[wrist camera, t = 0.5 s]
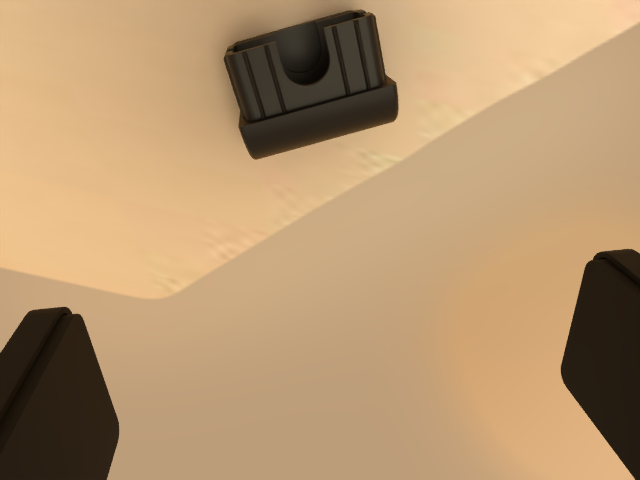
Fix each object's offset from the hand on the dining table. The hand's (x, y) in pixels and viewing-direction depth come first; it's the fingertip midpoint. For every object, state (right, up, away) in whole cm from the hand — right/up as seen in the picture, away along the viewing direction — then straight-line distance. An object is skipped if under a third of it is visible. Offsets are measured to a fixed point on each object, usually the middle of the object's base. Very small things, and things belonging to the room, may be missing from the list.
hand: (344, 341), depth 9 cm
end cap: (-2, +14, +27) cm, 30 cm away
